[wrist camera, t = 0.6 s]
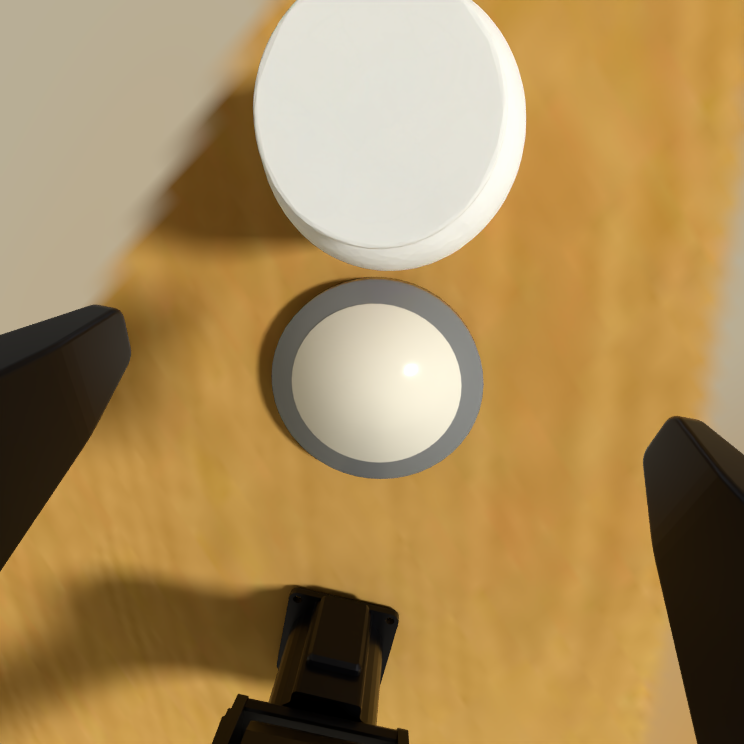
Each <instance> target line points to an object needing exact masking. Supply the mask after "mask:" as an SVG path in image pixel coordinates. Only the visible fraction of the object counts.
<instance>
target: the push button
mask: <svg viewBox="0 0 744 744" xmlns="http://www.w3.org/2000/svg"><path fill="white" fill-rule="evenodd" d="M272 389H273V394H274V399H275V403H276V406H277V409H278V411H279V414H280V416H281V418H282V420H283V422H284V424H285V426H286V427H287V429H288V430H289V432H290V433H291V435H292V436H293V437H294V438H295V440H296V441H297V442H298V443H299V444H300V445H301V446H302V447H303V448H304V449H305V450H306V451H307V452H308V453H309V454H311V455H312V456H314V457H315V458H316V459H318V460H319V461H321V462H322V463H324V464H326V465H328V466H330V467H331V468H334V469H336V470H339V471H341V472H343V473H347V474H350V475H354V476H358V477H364V478H374V479H388V478H398V477H403V476H408V475H411V474H415V473H418V472H421V471H423V470H425V469H428V468H430V467H432V466H433V465H435V464H437V463H438V462H440V461H442V460H443V459H444V458H446V457H447V456H448V455H450V454H451V453H452V452H453V451H454V450H455V449H456V448H457V447H458V446H459V445H460V444H461V443H462V441H463V440H464V439H465V437H466V436H467V435H468V433H469V432H470V430H471V428H472V426H473V424H474V423H475V420H476V418H477V415H478V412H479V409H480V405H481V401H482V395H483V371H482V366H481V361H480V357H479V354H478V351H477V348H476V345H475V342H474V340H473V337H472V336H471V334H470V332H469V330H468V328H467V326H466V325H465V323H464V322H463V321H462V319H461V318H460V316H459V315H458V314H457V313H456V312H455V311H454V310H453V309H452V308H451V307H450V306H449V305H448V304H447V303H446V302H444V301H443V300H442V299H441V298H439V297H438V296H437V295H435V294H433V293H432V292H430V291H428V290H427V289H424V288H422V287H420V286H418V285H415V284H413V283H410V282H406V281H403V280H399V279H392V278H386V277H368V278H359V279H354V280H350V281H346V282H342V283H340V284H337V285H335V286H332V287H330V288H328V289H327V290H325V291H323V292H321V293H320V294H318V295H317V296H315V297H314V298H313V299H312V300H310V301H309V302H308V303H307V304H306V305H305V306H304V307H303V308H302V309H301V310H300V311H299V312H298V313H297V314H296V315H295V316H294V317H293V318H292V320H291V321H290V322H289V324H288V325H287V326H286V328H285V330H284V332H283V334H282V335H281V337H280V339H279V342H278V345H277V348H276V350H275V354H274V359H273V364H272Z"/></svg>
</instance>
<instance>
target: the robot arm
mask: <svg viewBox="0 0 744 744" xmlns="http://www.w3.org/2000/svg"><path fill="white" fill-rule="evenodd" d="M130 357H131V347H130V342H129V338H128V333H127V329H126V324H125V320H124V316H123V314H122V313H121V311H120V310H118V309H116V308H111V307H106V306H101V305H90V306H87V307H84V308H81V309H78V310H75V311H72V312H69V313H66V314H63V315H60V316H57V317H54V318H51V319H48V320H45V321H42V322H38V323H36V324H32V325H29V326H26V327H23V328H20V329H17V330H14V331H11V332H8V333H5V334H2V335H0V571H1V570H2V568H3V567H4V565H5V564H6V562H7V561H8V559H9V558H10V556H11V555H12V553H13V552H14V550H15V549H16V547H17V546H18V544H19V543H20V541H21V540H22V538H23V537H24V535H25V534H26V532H27V531H28V529H29V528H30V526H31V525H32V523H33V522H34V520H35V519H36V517H37V516H38V514H39V513H40V512H41V510H42V509H43V507H44V506H45V504H46V503H47V501H48V500H49V498H50V497H51V495H52V494H53V492H54V491H55V489H56V488H57V486H58V485H59V483H60V482H61V480H62V479H63V477H64V476H65V474H66V473H67V471H68V470H69V468H70V467H71V465H72V464H73V462H74V461H75V459H76V458H77V456H78V455H79V453H80V452H81V450H82V449H83V447H84V446H85V444H86V443H87V441H88V440H89V438H90V436H91V435H92V433H93V431H94V429H95V427H96V426H97V424H98V422H99V420H100V418H101V416H102V414H103V412H104V410H105V408H106V406H107V404H108V403H109V401H110V399H111V397H112V395H113V393H114V391H115V389H116V387H117V385H118V383H119V381H120V379H121V377H122V375H123V373H124V372H125V370H126V368H127V366H128V364H129V361H130ZM643 468H644V477H645V486H646V495H647V504H648V513H649V523H650V532H651V539H652V546H653V552H654V557H655V562H656V566H657V571H658V575H659V579H660V584H661V588H662V592H663V597H664V601H665V605H666V610H667V614H668V618H669V623H670V627H671V632H672V636H673V640H674V645H675V649H676V653H677V658H678V662H679V666H680V670H681V674H682V679H683V684H684V688H685V692H686V697H687V701H688V705H689V710H690V714H691V719H692V723H693V727H694V731H695V735H696V740H697V744H744V455H743V454H742V453H741V452H740V451H738V450H737V449H736V448H735V447H733V446H732V445H731V444H730V443H728V442H727V441H726V440H725V439H723V438H722V437H721V436H720V435H718V434H717V433H716V432H715V431H714V430H712V429H711V428H710V427H709V426H707V425H706V424H705V423H703V422H702V421H699V420H696V419H691V418H686V417H680V416H674V417H671V418H669V419H668V420H667V421H666V422H665V423H664V425H663V426H662V428H661V429H660V431H659V432H658V433H657V435H656V436H655V438H654V439H653V440H652V442H651V443H650V445H649V446H648V447H647V449H646V451H645V454H644V458H643ZM296 596H299V597H301V598H298V597H296ZM389 618H392V619H389ZM398 621H399V614H398V612H396V611H395V610H393V609H389V608H385V607H380V606H376V605H372V604H368V603H363V602H359V601H355V600H350V599H346V598H342V597H338V596H333V595H329V594H325V593H320V592H316V591H312V590H307V589H303V588H294V589H293V590H292V591H291V593H290V596H289V601H288V606H287V612H286V617H285V623H284V628H283V634H282V639H281V644H280V650H279V655H278V661H277V668H278V673H277V676H276V679H275V683H274V686H273V689H272V693H271V696H270V699H269V702H264V701H259V700H255V699H250V698H249V696H246V695H241V694H238V695H237V697H236V699H235V702H234V704H233V706H232V708H228V710H227V712H226V715H225V716H223V717H222V719H221V721H220V724H219V727H218V729H217V732H216V734H215V737H214V740H213V742H212V744H409V736H408V730H405V729H400V728H397V730H395V729H390V728H385V727H381V726H376V724H377V712H378V700H379V689H380V684H381V680H382V677H383V674H384V670H385V667H386V663H387V660H388V657H389V653H390V650H391V646H392V643H393V640H394V636H395V633H396V629H397V626H398Z"/></svg>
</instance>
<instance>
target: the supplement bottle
mask: <svg viewBox="0 0 744 744" xmlns="http://www.w3.org/2000/svg"><path fill="white" fill-rule="evenodd" d="M253 116H254V128H255V134H256V141H257V146H258V150H259V153H260V156H261V159H262V163H263V167H264V171H265V173H266V176H267V180H268V183H269V185H270V187H271V189H272V191H273V194H274V196H275V198H276V200H277V201H278V203H279V205H280V207H281V208H282V210H283V212H284V213H285V215H286V216H287V217H288V219H289V220H290V221H291V222H292V224H293V225H294V226H295V227H296V228H297V229H298V231H299V232H300V233H301V234H302V235H303V236H304V237H306V238H307V239H308V240H309V241H310V242H311V243H312V244H314V245H315V246H316V247H318V248H319V249H321V250H322V251H323V252H325V253H327V254H329V255H331V256H332V257H334V258H336V259H338V260H341V261H343V262H346V263H348V264H351V265H354V266H358V267H362V268H366V269H372V270H380V271H397V270H406V269H413V268H418V267H421V266H424V265H428V264H431V263H433V262H436V261H438V260H441V259H443V258H445V257H447V256H449V255H450V254H452V253H454V252H455V251H457V250H459V249H460V248H461V247H463V246H464V245H465V244H467V243H468V242H469V241H470V240H471V239H473V238H474V237H475V236H476V235H477V234H478V233H479V232H480V231H482V230H483V229H484V228H485V226H486V225H487V224H488V223H489V222H490V220H491V219H492V218H493V217H494V216H495V214H496V213H497V211H498V210H499V209H500V207H501V206H502V204H503V202H504V201H505V199H506V197H507V195H508V193H509V191H510V189H511V187H512V185H513V182H514V180H515V177H516V175H517V172H518V169H519V165H520V161H521V158H522V153H523V147H524V141H525V131H526V104H525V96H524V89H523V84H522V81H521V77H520V74H519V70H518V67H517V64H516V61H515V59H514V56H513V54H512V52H511V50H510V48H509V46H508V44H507V42H506V40H505V38H504V37H503V35H502V33H501V32H500V30H499V29H498V28H497V26H496V25H495V23H494V22H493V21H492V20H491V19H490V17H489V16H488V15H487V14H486V13H485V12H484V11H483V10H482V9H481V8H480V7H479V6H478V5H477V4H476V3H474V2H473V1H472V0H296V1H295V2H294V3H293V4H292V6H291V7H290V8H289V9H288V11H287V12H286V13H285V15H284V16H283V17H282V19H281V20H280V22H279V23H278V25H277V27H276V28H275V30H274V31H273V33H272V35H271V37H270V39H269V41H268V43H267V46H266V48H265V51H264V53H263V56H262V58H261V62H260V65H259V69H258V73H257V78H256V82H255V89H254V100H253Z"/></svg>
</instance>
